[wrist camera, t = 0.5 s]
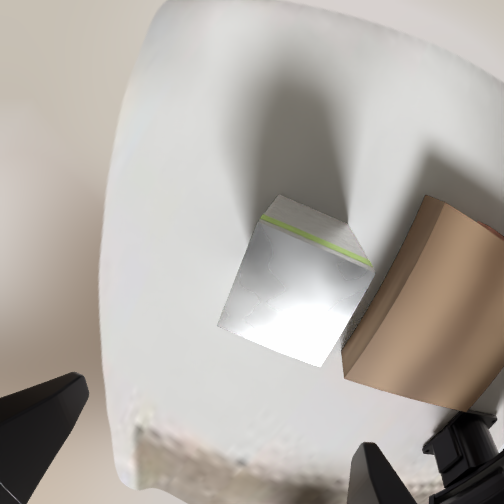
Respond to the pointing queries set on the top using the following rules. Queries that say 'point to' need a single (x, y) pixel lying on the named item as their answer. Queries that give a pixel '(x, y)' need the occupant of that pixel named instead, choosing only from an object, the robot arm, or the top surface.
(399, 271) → the walnut riser
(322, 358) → the metal column
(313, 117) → the top surface
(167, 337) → the top surface
